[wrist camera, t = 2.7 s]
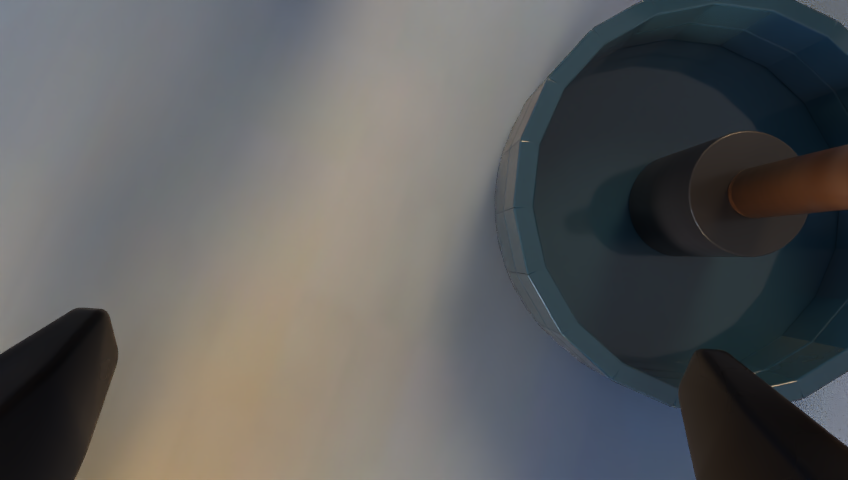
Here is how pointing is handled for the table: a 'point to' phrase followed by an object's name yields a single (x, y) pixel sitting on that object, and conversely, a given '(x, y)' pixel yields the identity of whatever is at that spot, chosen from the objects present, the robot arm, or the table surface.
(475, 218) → the table surface
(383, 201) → the table surface
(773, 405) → the robot arm
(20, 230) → the table surface
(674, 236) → the peg on round base
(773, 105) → the dish
